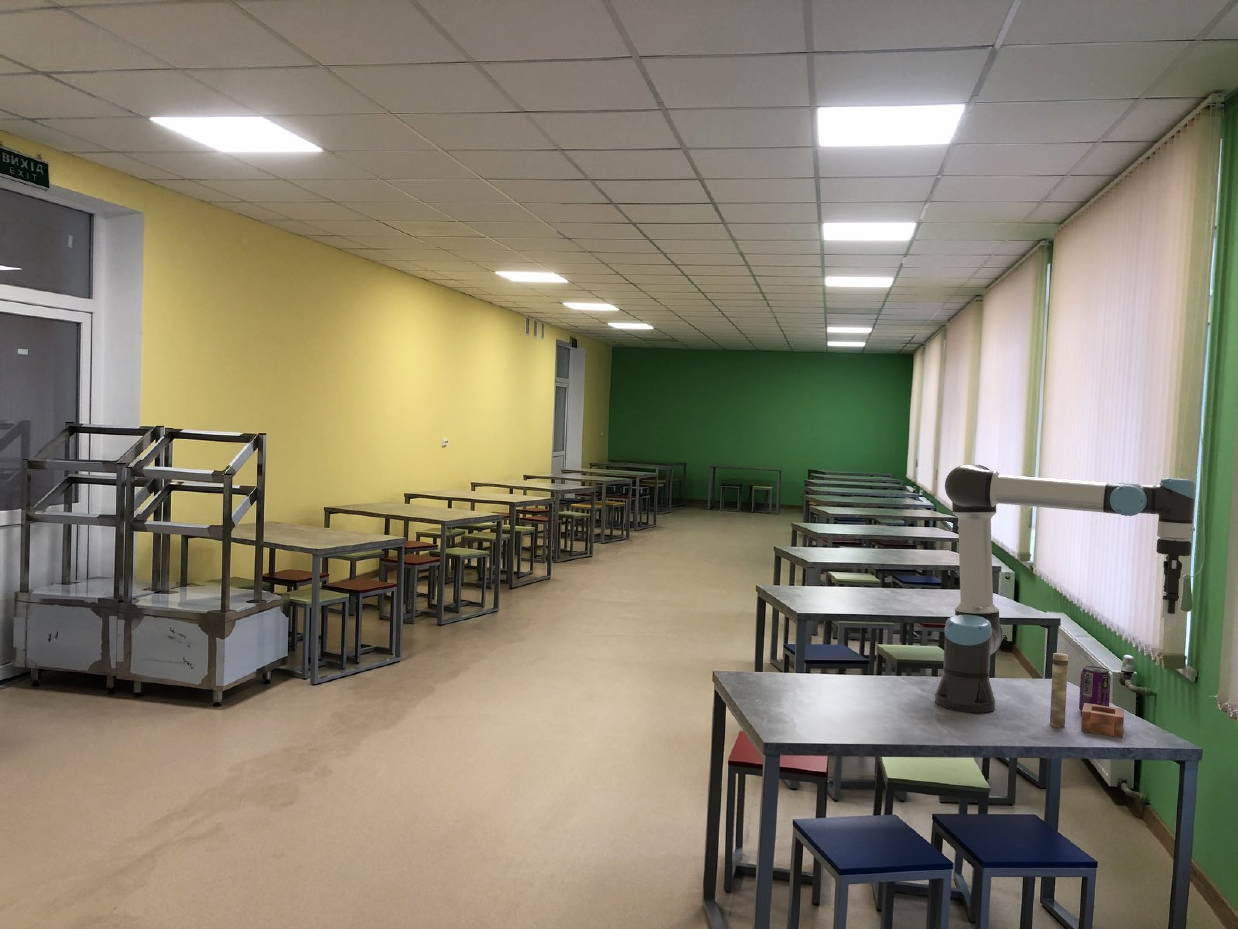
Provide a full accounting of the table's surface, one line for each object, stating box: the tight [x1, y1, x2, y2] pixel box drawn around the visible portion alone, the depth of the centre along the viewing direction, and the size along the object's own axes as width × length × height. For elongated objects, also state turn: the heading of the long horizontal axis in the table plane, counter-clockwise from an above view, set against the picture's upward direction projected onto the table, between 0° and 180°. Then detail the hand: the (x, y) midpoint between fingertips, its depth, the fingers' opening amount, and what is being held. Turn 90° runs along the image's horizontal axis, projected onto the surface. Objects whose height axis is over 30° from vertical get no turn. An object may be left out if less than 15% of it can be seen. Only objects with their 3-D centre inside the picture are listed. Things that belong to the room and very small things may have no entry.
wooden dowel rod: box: [1049, 652, 1069, 729], centre depth 232 cm, size 4×4×18 cm
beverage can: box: [1078, 665, 1111, 712], centre depth 245 cm, size 7×7×12 cm
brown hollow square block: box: [1080, 703, 1125, 739], centre depth 230 cm, size 9×9×5 cm
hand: (1169, 622), depth 235 cm, fingers open, 13 cm apart
